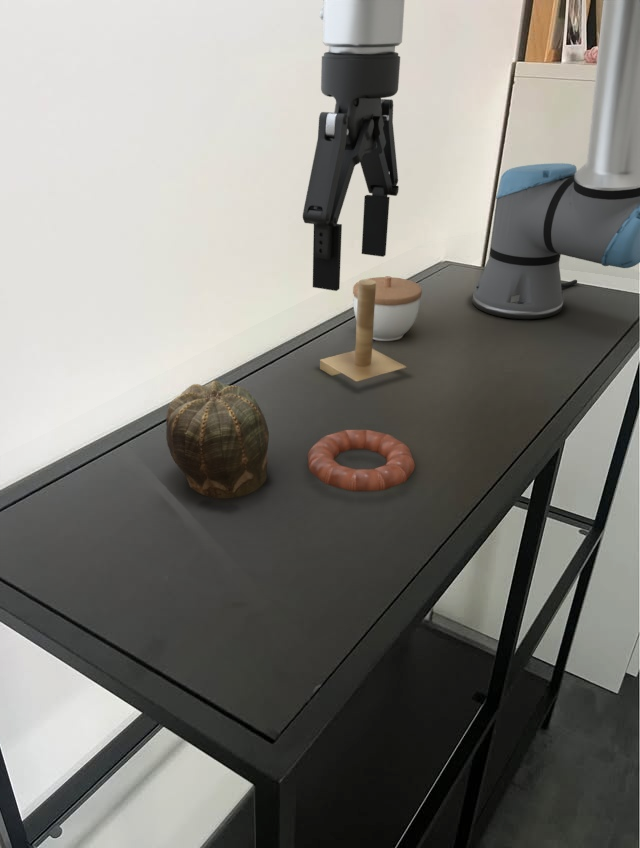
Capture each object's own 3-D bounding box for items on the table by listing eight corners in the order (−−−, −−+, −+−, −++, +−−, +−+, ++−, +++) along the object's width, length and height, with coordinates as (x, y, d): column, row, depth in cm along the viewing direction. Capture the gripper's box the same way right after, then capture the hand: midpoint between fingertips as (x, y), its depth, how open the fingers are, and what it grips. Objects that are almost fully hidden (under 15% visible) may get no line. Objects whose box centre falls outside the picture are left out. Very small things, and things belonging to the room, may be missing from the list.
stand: (368, 355, 117) (373, 267, 110) (406, 376, 111) (414, 284, 103) (319, 368, 113) (321, 278, 106) (356, 391, 107) (360, 297, 100)
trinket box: (415, 349, 119) (421, 290, 114) (347, 344, 121) (349, 286, 116) (419, 324, 128) (424, 268, 123) (355, 320, 130) (357, 265, 125)
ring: (369, 437, 96) (370, 416, 94) (434, 481, 87) (436, 458, 85) (288, 464, 90) (288, 442, 89) (348, 514, 82) (349, 490, 80)
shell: (179, 461, 91) (170, 368, 85) (271, 462, 91) (269, 369, 84) (164, 514, 82) (153, 414, 75) (267, 515, 82) (265, 415, 75)
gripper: (371, 42, 84) (361, 239, 95) (265, 56, 65) (268, 299, 76) (438, 44, 81) (419, 246, 92) (346, 58, 62) (337, 310, 74)
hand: (351, 270), depth 84 cm, fingers open, 13 cm apart
